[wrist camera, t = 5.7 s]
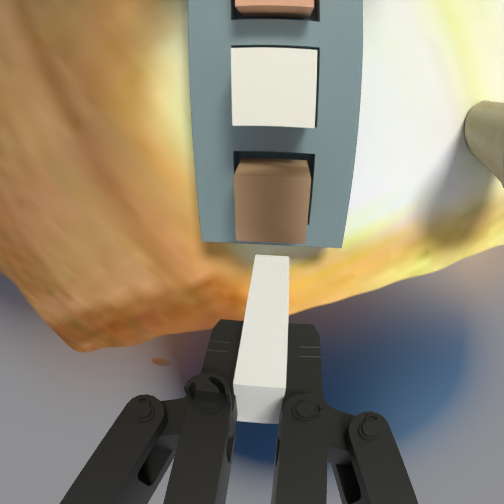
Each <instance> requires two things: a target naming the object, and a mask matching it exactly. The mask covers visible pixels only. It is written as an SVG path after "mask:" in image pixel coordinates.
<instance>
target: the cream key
mask: <svg viewBox="0 0 504 504" xmlns="http://www.w3.org/2000/svg"><path fill="white" fill-rule="evenodd" d="M316 84H317V50H311V49H296V48H265V47H255V48H231V87H232V126H283V127H302V128H315V110H316Z"/></svg>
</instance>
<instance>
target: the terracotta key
mask: <svg viewBox="0 0 504 504" xmlns="http://www.w3.org/2000/svg"><path fill="white" fill-rule="evenodd" d="M235 6H236V8H237V9H238V11H239V12H240V13H241V15H242V16H243V17H294V18H309V17H310V15H311V13H312V11H313V9H314V0H235Z"/></svg>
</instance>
